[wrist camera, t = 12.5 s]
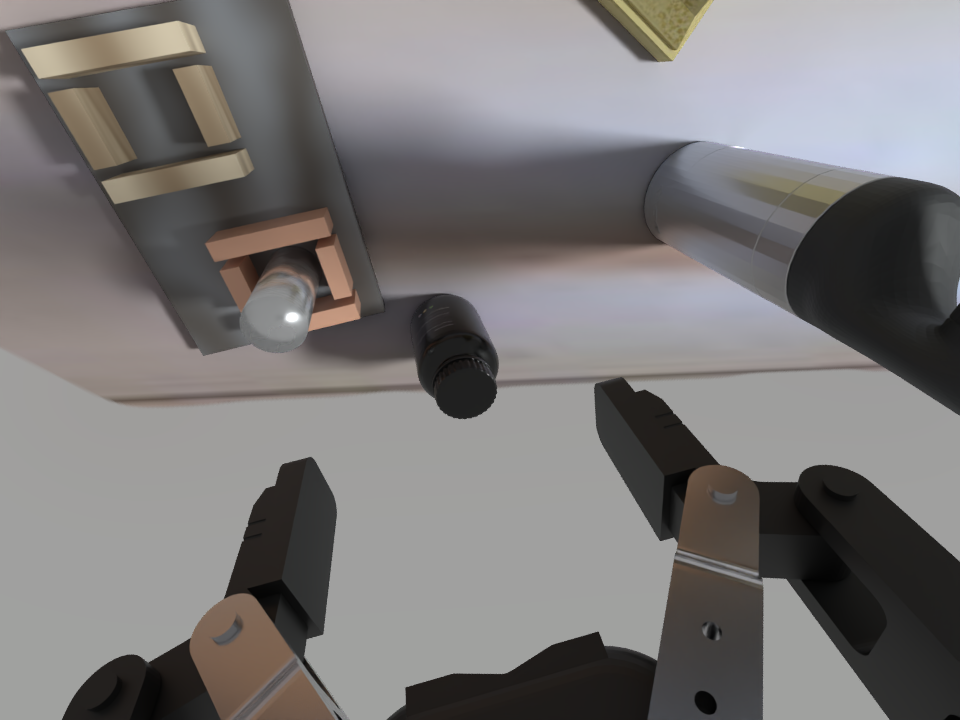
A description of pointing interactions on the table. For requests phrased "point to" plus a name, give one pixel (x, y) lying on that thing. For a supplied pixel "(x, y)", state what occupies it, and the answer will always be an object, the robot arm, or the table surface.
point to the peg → (282, 301)
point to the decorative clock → (659, 22)
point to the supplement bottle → (454, 356)
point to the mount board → (199, 139)
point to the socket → (279, 234)
